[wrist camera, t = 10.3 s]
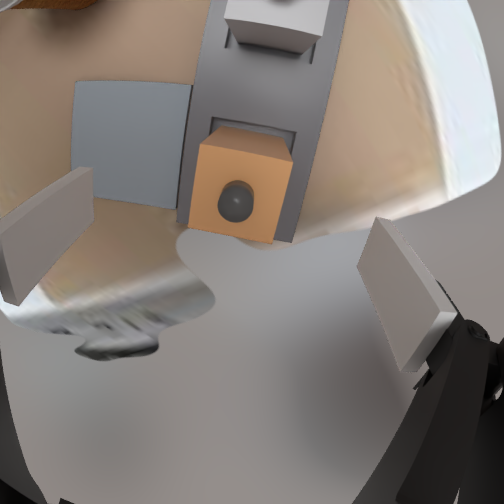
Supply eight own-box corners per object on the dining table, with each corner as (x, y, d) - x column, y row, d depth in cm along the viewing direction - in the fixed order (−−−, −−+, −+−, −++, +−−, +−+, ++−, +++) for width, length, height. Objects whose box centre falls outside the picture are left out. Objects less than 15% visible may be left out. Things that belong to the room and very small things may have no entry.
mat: (74, 191, 27) (71, 193, 27) (78, 81, 22) (75, 81, 21) (177, 207, 28) (175, 209, 27) (193, 85, 22) (191, 85, 22)
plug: (211, 182, 26) (181, 240, 17) (221, 125, 24) (193, 149, 14) (269, 194, 26) (272, 258, 17) (283, 137, 24) (296, 169, 15)
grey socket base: (181, 213, 28) (140, 284, 18) (227, -44, 16) (205, -111, 7) (290, 232, 29) (302, 312, 19) (347, -21, 17) (396, -75, 7)
